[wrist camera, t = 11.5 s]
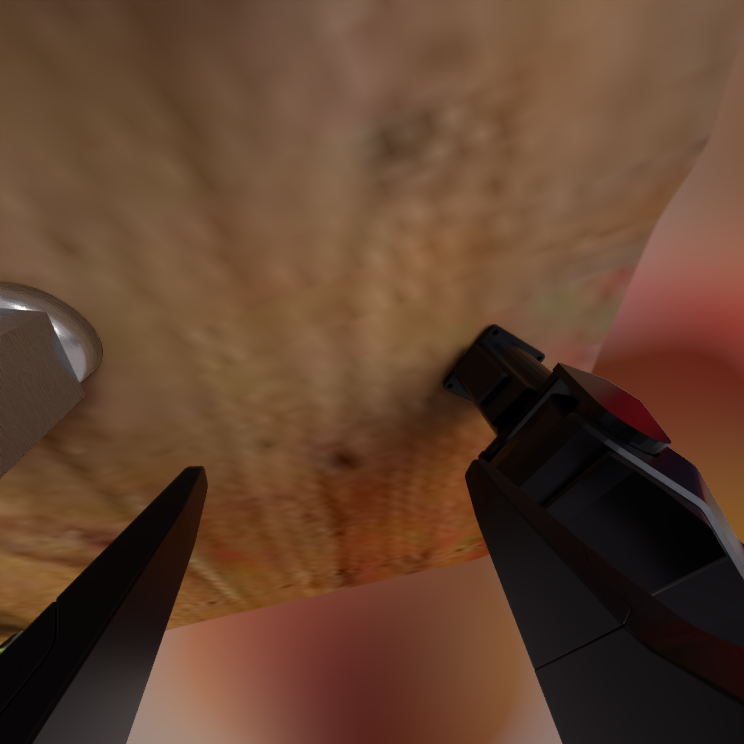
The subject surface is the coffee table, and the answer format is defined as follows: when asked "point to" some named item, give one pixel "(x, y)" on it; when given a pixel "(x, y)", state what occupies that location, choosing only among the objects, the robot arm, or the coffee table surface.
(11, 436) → the grey round knob
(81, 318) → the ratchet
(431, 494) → the coffee table surface
